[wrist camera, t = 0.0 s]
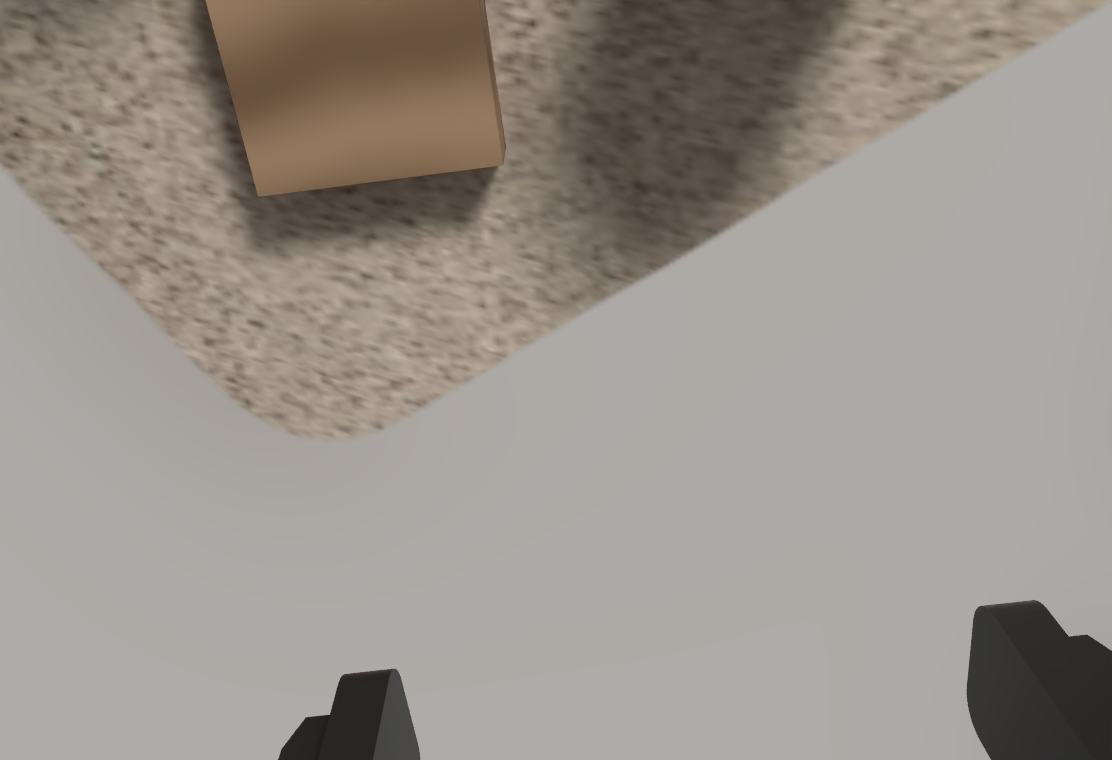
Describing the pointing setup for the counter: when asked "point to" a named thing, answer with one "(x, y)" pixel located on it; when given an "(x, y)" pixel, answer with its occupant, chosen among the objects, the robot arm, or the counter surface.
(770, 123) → the counter surface
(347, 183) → the walnut block
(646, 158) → the counter surface
